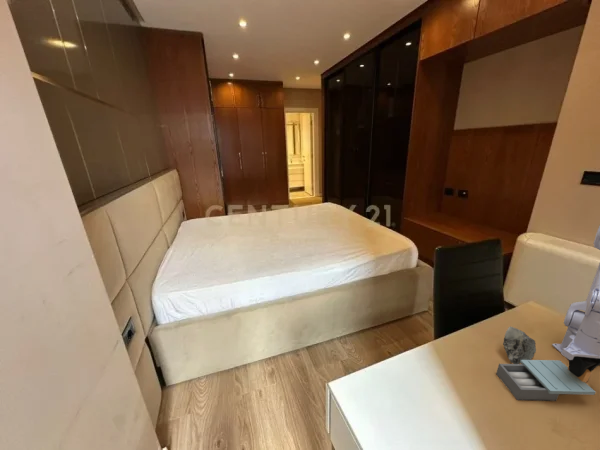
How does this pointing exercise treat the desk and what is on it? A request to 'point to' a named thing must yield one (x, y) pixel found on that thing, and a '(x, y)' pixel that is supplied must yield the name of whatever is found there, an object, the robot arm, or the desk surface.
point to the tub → (523, 383)
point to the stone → (518, 345)
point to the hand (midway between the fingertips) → (577, 372)
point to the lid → (558, 377)
